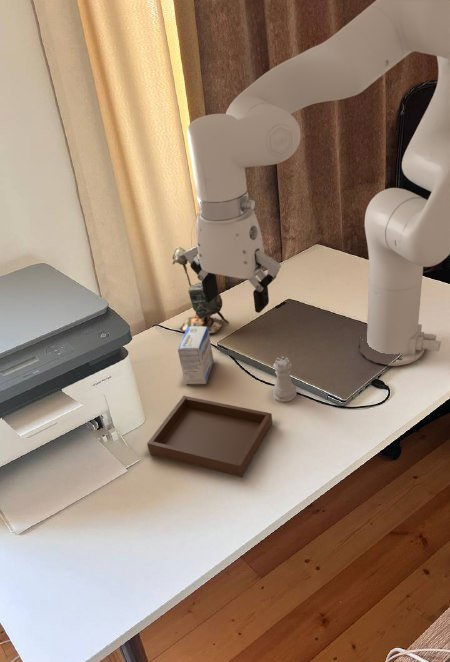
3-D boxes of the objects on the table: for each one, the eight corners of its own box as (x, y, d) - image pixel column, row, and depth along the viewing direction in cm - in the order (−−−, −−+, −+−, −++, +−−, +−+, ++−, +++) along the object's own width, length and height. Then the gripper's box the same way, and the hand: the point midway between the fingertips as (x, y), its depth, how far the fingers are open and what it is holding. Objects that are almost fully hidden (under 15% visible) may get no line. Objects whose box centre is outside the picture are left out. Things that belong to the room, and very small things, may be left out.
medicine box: (206, 385, 123) (199, 348, 118) (184, 384, 124) (176, 348, 119) (214, 361, 129) (208, 325, 124) (193, 361, 130) (186, 325, 125)
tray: (272, 424, 112) (271, 413, 110) (242, 477, 103) (240, 466, 101) (185, 406, 119) (183, 395, 117) (149, 454, 110) (146, 443, 108)
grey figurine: (214, 344, 134) (201, 258, 121) (175, 330, 140) (158, 247, 128) (237, 326, 138) (226, 241, 126) (198, 313, 145) (184, 231, 132)
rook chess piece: (269, 401, 117) (266, 366, 112) (276, 387, 120) (273, 352, 115) (293, 404, 115) (291, 369, 110) (299, 389, 119) (297, 354, 114)
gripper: (286, 200, 93) (293, 301, 104) (189, 190, 101) (205, 284, 112) (261, 221, 88) (271, 324, 99) (162, 208, 96) (181, 305, 107)
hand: (236, 303), depth 105 cm, fingers open, 9 cm apart
